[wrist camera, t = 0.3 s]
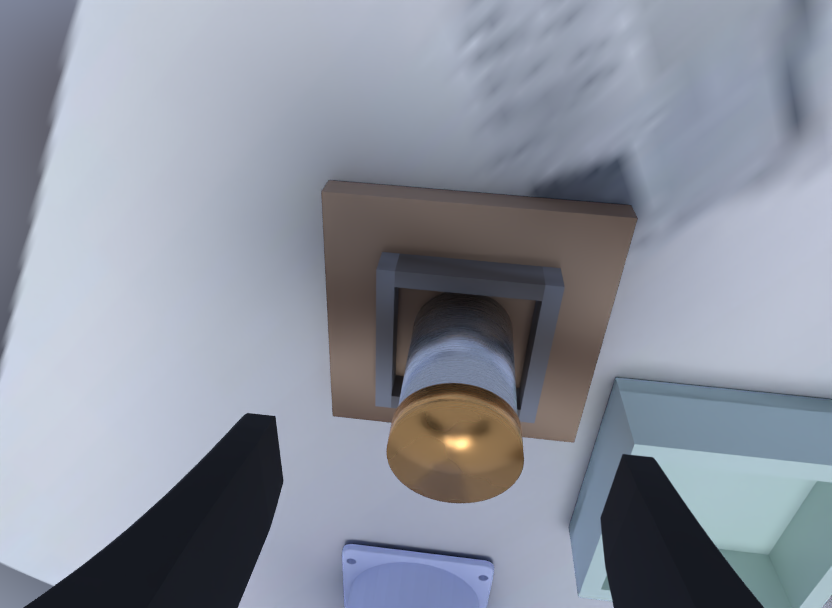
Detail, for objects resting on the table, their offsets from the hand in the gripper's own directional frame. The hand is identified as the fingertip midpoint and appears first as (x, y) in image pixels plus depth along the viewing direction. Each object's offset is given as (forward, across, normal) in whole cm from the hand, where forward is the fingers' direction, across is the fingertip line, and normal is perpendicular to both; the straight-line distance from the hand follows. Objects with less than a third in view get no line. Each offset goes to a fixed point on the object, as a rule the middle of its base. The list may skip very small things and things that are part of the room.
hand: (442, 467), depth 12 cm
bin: (+10, -11, +10) cm, 18 cm away
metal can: (+9, 0, +3) cm, 9 cm away
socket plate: (+10, 0, +3) cm, 10 cm away
